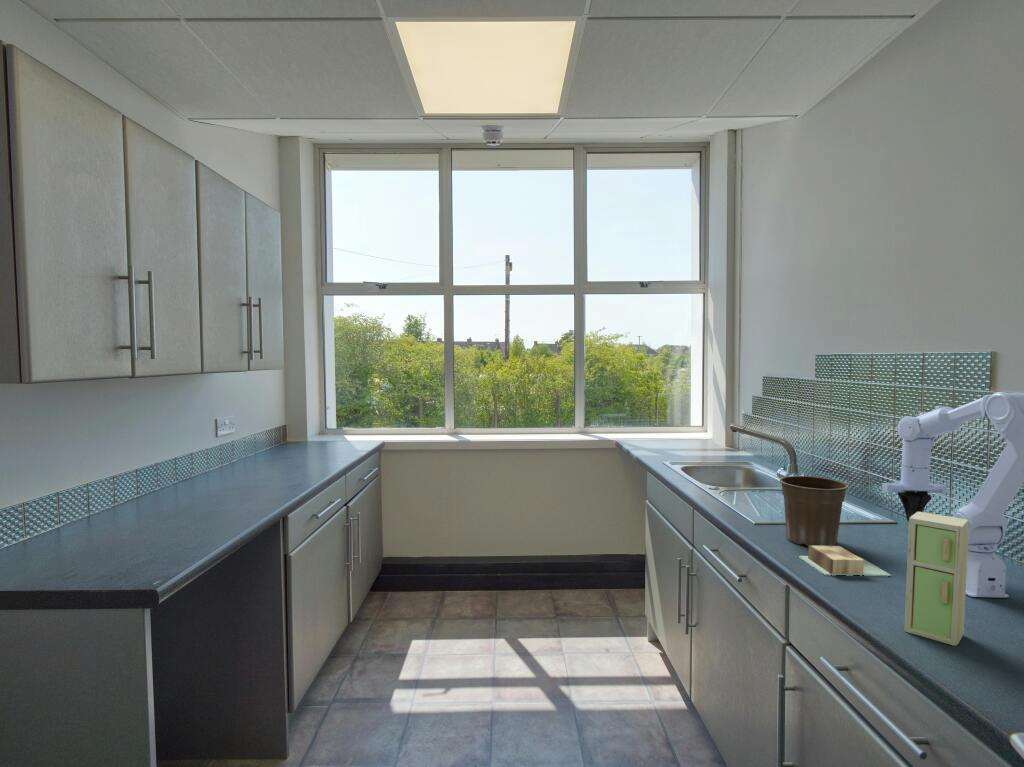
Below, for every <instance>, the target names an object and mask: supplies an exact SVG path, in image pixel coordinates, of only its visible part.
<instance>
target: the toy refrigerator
mask: <svg viewBox="0 0 1024 767" xmlns="http://www.w3.org/2000/svg"><path fill="white" fill-rule="evenodd" d="M968 532H969V520H967V519H962V518H956V517H952V516H949V515H943V514H937V513H936V514H935V513H930V512H926V511H922V512H916V513H915V514H914V515H912V516H911V517H910V518H909V522H908V534H907V538H908V540H907V558H906V559H907V560H906V561H907V563H906V579H905V580H906V582H905V586H906V587H905V605H904V606H905V607H904V609H905V610H904V632H905V633H909V634H912V635H915V636H919V637H923V638H926V639H930V640H933V641H935V642H940V643H944V644H947V645H950V646H953V647H956V646H958V644H959V643H960V641H961V640H962V639H963V636H964V631H965V615H966V614H965V613H966V596H967V594H966V574H967V553H968Z"/></svg>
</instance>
